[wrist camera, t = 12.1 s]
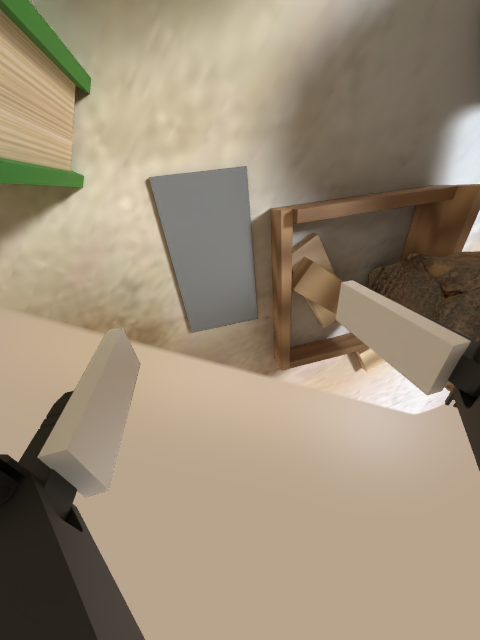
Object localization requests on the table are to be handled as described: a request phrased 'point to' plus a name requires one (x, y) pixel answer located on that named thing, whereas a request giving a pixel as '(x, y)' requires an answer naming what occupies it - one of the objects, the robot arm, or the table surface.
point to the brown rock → (435, 289)
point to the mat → (210, 244)
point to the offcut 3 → (369, 359)
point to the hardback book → (36, 99)
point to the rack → (424, 238)
